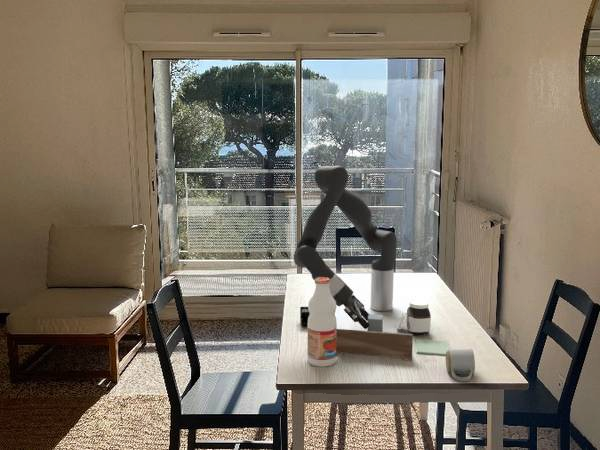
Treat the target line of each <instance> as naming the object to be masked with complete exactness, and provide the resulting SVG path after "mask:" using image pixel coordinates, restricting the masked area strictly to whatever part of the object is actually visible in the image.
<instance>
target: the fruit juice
mask: <svg viewBox="0 0 600 450" xmlns="http://www.w3.org/2000/svg"><path fill="white" fill-rule="evenodd" d="M314 284H315V289H314V291H313V294H312V296H311V298H309V300H308V303H307V304H308V306H307V307H308V309H309V313H310V315H309V317H308V327H307V362H308V363H309V364H310V365H312V366H315V367H330V366H333V365H334V364H335V363H336V361H337V355H336V331H337V329H338V328H337V327H338V326H337V325H338V322H337V316H336V310H337V305H336V301H335V300H334V298H333V297H332V295H331V292H330V289H329V284H330V279H329V278H327V277H318V278H315V281H314Z"/></svg>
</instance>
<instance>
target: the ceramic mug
mask: <svg viewBox="0 0 600 450" xmlns="http://www.w3.org/2000/svg"><path fill="white" fill-rule="evenodd" d="M445 367H446V372H448V373H450V374H451V375H452V377H453V378H454V379H455V380H456V381H458V380H459V381H458V382H468V381H469V380H470V379H471V378H472V376H473V375H474V374H475V371H476V370H475V369H476V368H475V367H476V359H475V354H474V350H473V348H462V349H461V348H460V349H449V350H448V351H447V352H446V356H445ZM458 374H460V375H468V376H465V377H460V376H458Z"/></svg>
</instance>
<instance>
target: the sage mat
mask: <svg viewBox="0 0 600 450" xmlns="http://www.w3.org/2000/svg"><path fill="white" fill-rule="evenodd" d="M448 350H450V345H449V341H448V340H436V339H435V340H434V339H424V338H422V339H421V338H416V354H421V355H432V354H435V355H436V356H445V355H446V352H447V351H448Z"/></svg>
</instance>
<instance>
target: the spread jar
mask: <svg viewBox="0 0 600 450" xmlns="http://www.w3.org/2000/svg"><path fill="white" fill-rule="evenodd" d="M429 305H430V303H429V302H428V301H427V300H423V299H412V300H410V301H409V307H408V308H407V310H406V312H402V315H401V317H400V320H399V322H398V324H397V326H396V329H397V330H398V331H401V330H402V327H403V324H404V322H405V320H406V323H405V324H406V330H407V331H408V334H413V336H418V335H422V336H426V335H428V334H429V333H430V332H431V326H432V323H431V322H432V321H431V320H432V315H431V311H430V309H429Z"/></svg>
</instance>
